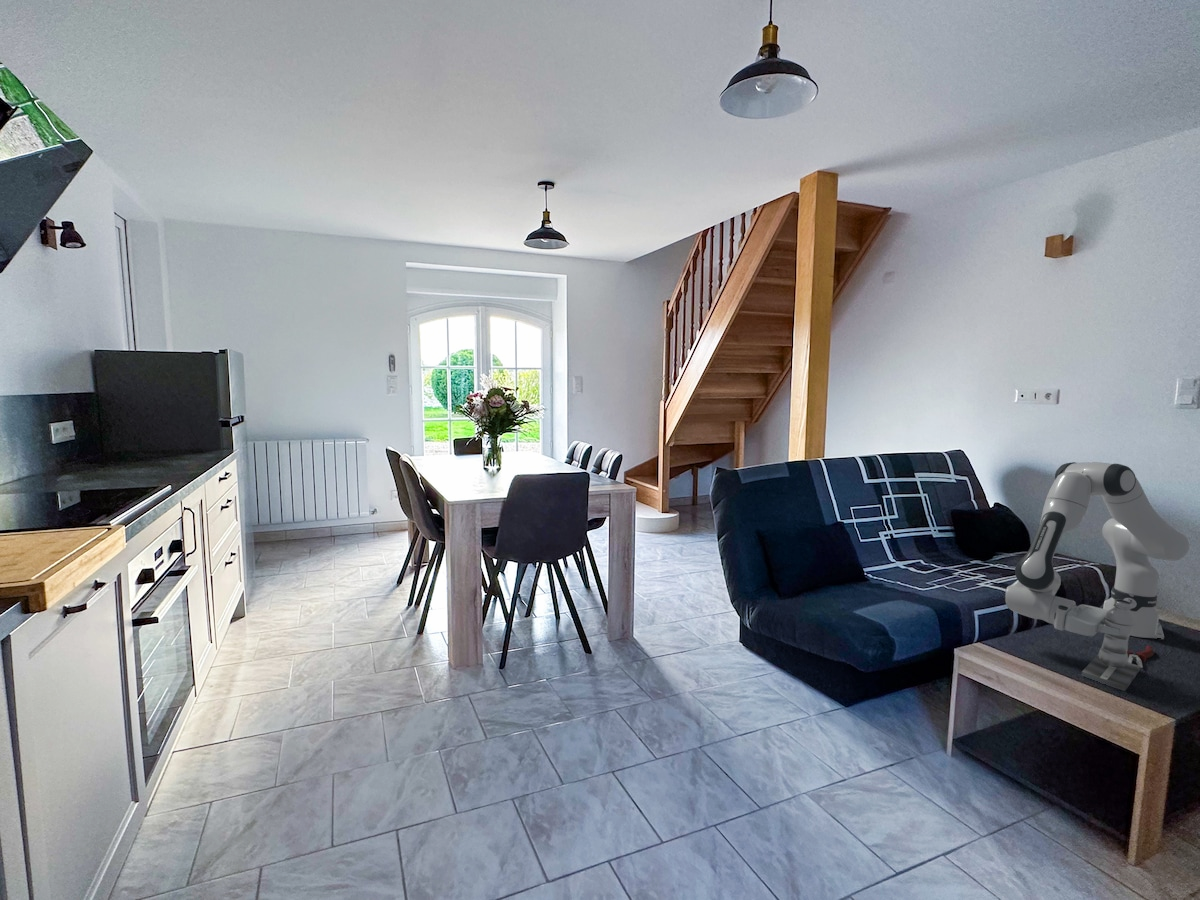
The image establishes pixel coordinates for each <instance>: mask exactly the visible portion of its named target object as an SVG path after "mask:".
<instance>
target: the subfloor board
mask: <svg viewBox="0 0 1200 900" xmlns="http://www.w3.org/2000/svg"><path fill="white" fill-rule="evenodd" d="M1140 671H1141V667H1140V666H1138V665H1137V664H1134V663H1132V664H1131V663H1129V662H1127V665H1126V666H1125V667H1123V668H1116V667H1112V666H1109V665H1106V664H1104V663H1102V662H1101V661H1100V659H1099V653H1098V654H1096V656H1095V657H1094V658H1093V659H1092V660H1091V661H1090V662H1089V663H1088V664H1087V666H1085V668H1083V670H1082V671H1081V675H1082V676H1085V677H1087V678H1090V679H1092V680H1091V681H1093V680H1095V681H1094V682H1096V681H1098V682H1097V683H1099V682H1100V684H1103V685H1105V684H1106V686H1108V687H1112V688H1114V689H1118V690H1120V691H1123V692H1126V691H1127V689H1128V688H1129V687H1130V685H1131V683H1133V681H1134V679H1135V678H1136V676H1138V674H1139V672H1140ZM1081 675H1080V676H1081ZM1087 678H1086V679H1087ZM1090 679H1089V680H1090Z"/></svg>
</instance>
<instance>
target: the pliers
mask: <svg viewBox="0 0 1200 900" xmlns="http://www.w3.org/2000/svg"><path fill="white" fill-rule="evenodd" d="M1154 653H1155V652H1154V650H1153V648H1152V646H1150V645H1148V644H1147V645H1146V647H1145V650H1142V651H1138V652H1135V653H1133V652H1132V651H1131V650H1127V654H1128V663H1131V664H1133V662H1135V663H1136V664H1135V665H1138V666H1140V669H1144V666H1143V663H1146V660H1147V659H1149V658H1152V657H1153V656H1154Z"/></svg>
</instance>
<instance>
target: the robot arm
mask: <svg viewBox="0 0 1200 900" xmlns="http://www.w3.org/2000/svg"><path fill="white" fill-rule="evenodd" d="M1091 496H1101V498H1102V501H1103V502H1104V504H1105V507H1106V508H1107V511H1108V512H1109V514H1110V516H1111V517H1112V518H1111V517H1110V518H1109V519H1108V520H1106V522H1104V524H1103V526H1102V529H1101V531H1102V532H1101V533H1102V537H1103V539H1104V540H1105V541H1106V542H1107V543H1108V544H1109V546H1110V548H1111V550H1112V552H1113V555H1114V558H1115V562H1116V564H1115V565H1116V569H1115V570H1116V572H1115V580H1114V585H1113V586H1112V589H1111V591H1110V593H1111V594H1110V596H1111V597H1110V598H1108V599H1106V600H1104V602H1103V606H1102V607H1103V608H1101V607H1097V606H1093V605H1088V604H1079V605H1077V604H1076V601H1074V600H1072V599H1068V598H1064V597H1061V596H1057V595H1056V594H1057V593H1058V591H1059V589H1060V586H1061V582H1062V581H1061V580H1062V579H1061V576H1060V574H1059V573H1058V571H1057V570H1056V569H1055V568H1054V565H1053V559H1054V556H1055V554H1056V553H1055V552H1056V550H1057V548H1058V546H1059V542H1060V541H1061V538H1062V537H1063V535H1065V534H1066V533H1067V532H1072V531H1074V530H1076V529H1078V528H1079V527H1080V525H1081V523H1082V522H1083V520H1084V518H1085V516H1086V514H1087V511H1088V508H1089V503H1090V498H1091ZM1042 508H1043V509H1042V512H1041V517H1040V521H1039V525H1038V528H1037V529H1036V532H1035V535H1034V537H1033V539H1032V541H1031V545H1030V547H1029V549H1028V551H1027V553H1026V554H1025V555H1024V556H1023V557H1021V559H1020V560H1019V561H1017V563H1016V564H1015V565H1016V566H1015V567H1014V568H1015V569H1014V574H1015V577H1016V581H1015V582H1013V583H1012V584H1011V585H1008V586H1007V587H1006V589H1005V591H1004V601H1005V605H1006V607H1007V608H1008V609H1009V610H1011V611H1012V612H1014V613H1017V614H1019V615H1022V616H1024V617H1027V618H1031V619H1035V620H1042V621H1043V622H1046V623H1048V624H1052V625H1053V627H1054V629H1055V630H1057V631H1062V632H1063V631H1067V632H1070V633H1073V634H1077V635H1081V636H1086V637H1094V636H1095V635H1096V634H1097V633H1102V634H1105V633H1108V634H1114V635H1119V633H1120V629H1119V628H1115V627H1108V626H1105V615H1106V613H1107V612H1108V611H1109V610H1111V609H1112V608H1114V606H1113V604H1114V601H1115V599H1120V600H1125V601H1128V602H1130V603H1131V610H1129V612H1130V613H1131V615H1132V617H1133V619H1134V625H1133V628H1132V630H1131V633H1130V636H1131V637H1136V638H1145V639H1157V638H1161V639H1160V640H1165V635H1164V631H1163V627H1162V625H1161V623H1160V622H1159V620H1160V613H1159V612H1158V610H1157V609H1156V607H1157V606H1156V605H1157V603H1158V596H1157V590H1158V584H1159V580H1160V575H1159V572H1158V570H1157V569H1156V568H1155V567H1154V566H1153V565H1152V564H1151V563H1150V560H1149V558H1148V557H1150V558H1153V559H1156V560H1161V561H1171V562H1172V561H1173V562H1175V561H1179V560H1181V559H1183V558H1185V556H1187V554H1189V553H1188V552H1189V550H1190V541H1189V539H1188V538H1187V536H1186V535H1184V534H1183V533H1181V532H1179V531H1178V530H1176V529H1175V527H1173V526H1171V525H1170V524H1169V523H1168V522H1167V521H1166V520H1165V519H1163V517H1162V516H1161V515H1160V514H1158V512H1157V511H1156V510H1155V508H1154V507H1153V506H1152V505H1151V503H1150V501H1149V499H1148V497H1147V495H1146V493H1145V491H1144V489H1143V487H1142V485H1141V483H1140V482H1139V480H1138V478H1137V477H1136V475H1135V472H1134V470H1132V468H1130V467H1129V466H1128V465H1124V464H1120V463H1109V462H1108V463H1107V462H1101V461H1100V462H1097V461H1093V462H1073V461H1072V462H1067V463H1063V464H1061V465H1060V466H1059V467H1058V468H1057V469H1056V471H1055V474H1054V481H1053V482H1052V484H1051V486H1050V489H1049V491H1048V493H1047V495H1046V499H1045V501H1044V503H1043V507H1042Z"/></svg>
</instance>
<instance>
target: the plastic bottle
mask: <svg viewBox="0 0 1200 900" xmlns="http://www.w3.org/2000/svg"><path fill="white" fill-rule="evenodd" d="M1113 606H1114V608H1112V609H1111V610H1109V611H1108V612H1107V613H1106V615H1105V626H1108V627H1115V628H1119V629H1120V633H1119V635H1114V634H1108V633H1104V636H1103V641H1102V645H1101V647H1100V648H1099V651H1098V654H1099V659H1100V661H1101V662H1102V663H1104V664H1106V665H1109V666H1112V667H1116V668H1123V667H1125V666H1126V665H1127V662H1128V654H1127V650H1128V647H1129V639H1130V636H1131V635H1130V633H1131V630H1132V628H1133V625H1134V619H1133V617H1132V615H1131V613H1130V612H1129V610H1131V603H1130V602H1128V601H1125V600H1120V599H1115V601H1114V604H1113ZM1128 663H1129V662H1128Z"/></svg>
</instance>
